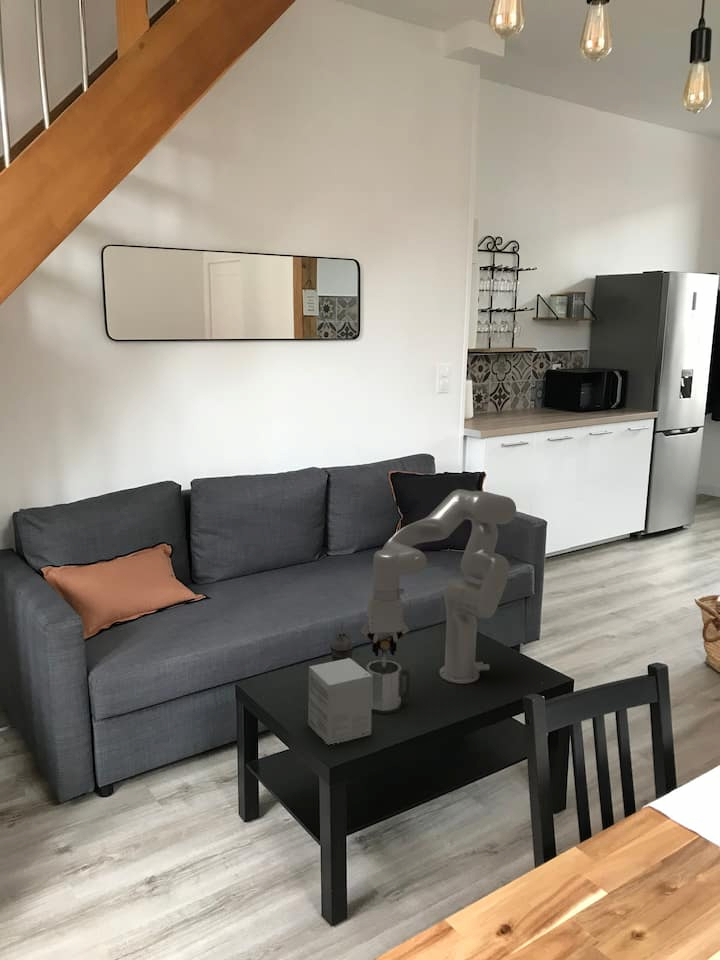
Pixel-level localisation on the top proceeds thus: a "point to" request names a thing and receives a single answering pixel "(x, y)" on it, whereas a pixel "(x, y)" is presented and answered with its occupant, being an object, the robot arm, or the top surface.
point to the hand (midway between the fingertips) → (384, 653)
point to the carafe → (387, 686)
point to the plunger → (384, 651)
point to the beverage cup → (341, 646)
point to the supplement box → (340, 701)
